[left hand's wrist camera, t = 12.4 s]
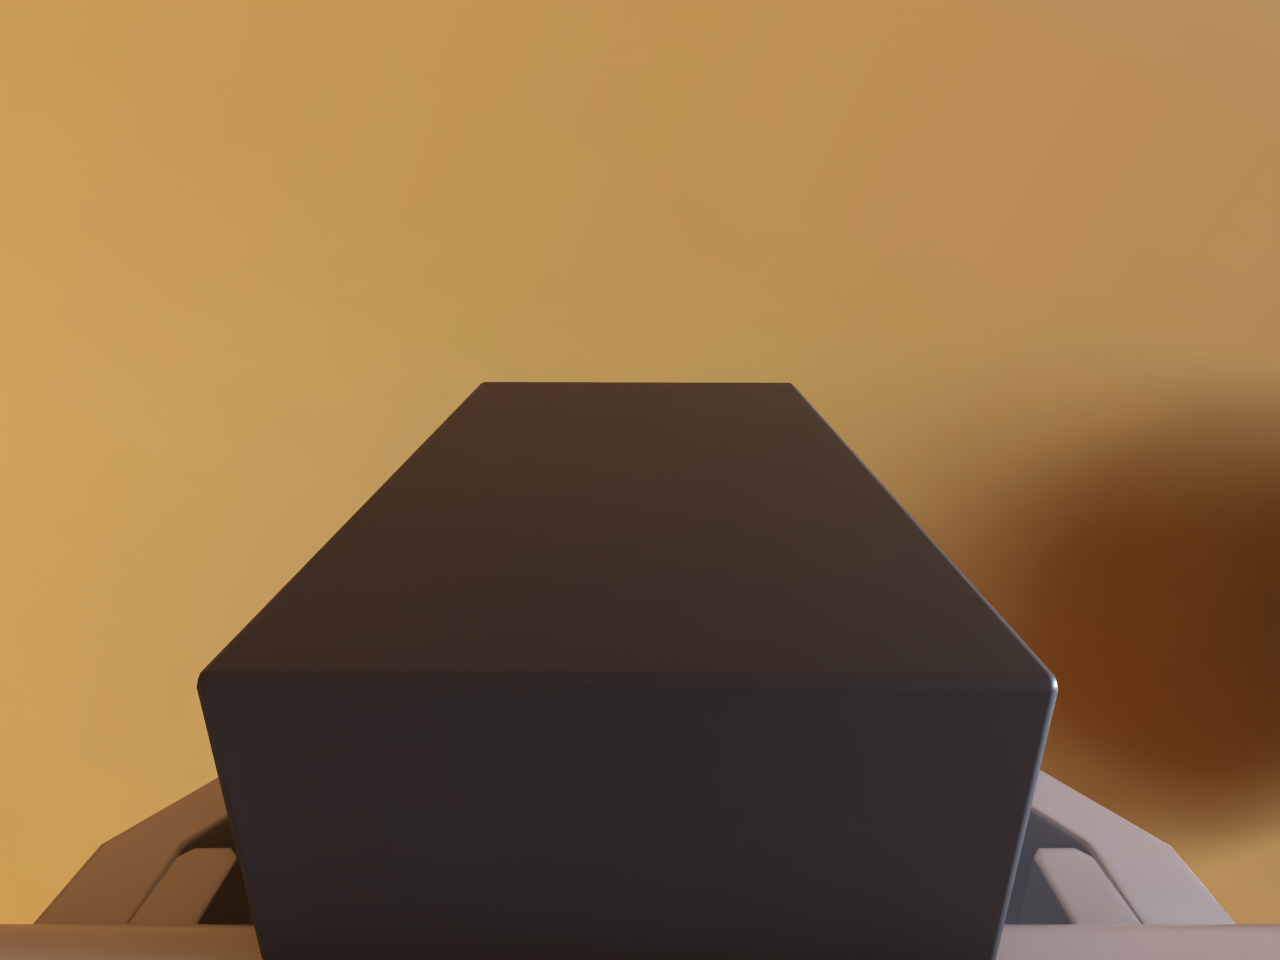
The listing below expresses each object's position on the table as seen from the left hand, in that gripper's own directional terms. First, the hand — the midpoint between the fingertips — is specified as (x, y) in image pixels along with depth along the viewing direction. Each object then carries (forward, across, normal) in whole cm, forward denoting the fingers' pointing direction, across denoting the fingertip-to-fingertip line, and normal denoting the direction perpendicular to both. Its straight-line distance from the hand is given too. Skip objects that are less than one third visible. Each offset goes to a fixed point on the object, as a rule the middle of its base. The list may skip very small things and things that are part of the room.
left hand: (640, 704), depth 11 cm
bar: (+3, 0, -9) cm, 10 cm away
